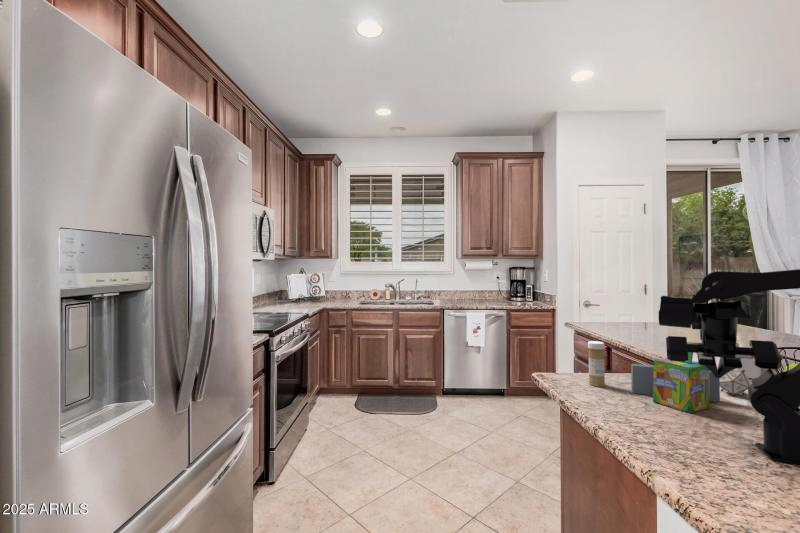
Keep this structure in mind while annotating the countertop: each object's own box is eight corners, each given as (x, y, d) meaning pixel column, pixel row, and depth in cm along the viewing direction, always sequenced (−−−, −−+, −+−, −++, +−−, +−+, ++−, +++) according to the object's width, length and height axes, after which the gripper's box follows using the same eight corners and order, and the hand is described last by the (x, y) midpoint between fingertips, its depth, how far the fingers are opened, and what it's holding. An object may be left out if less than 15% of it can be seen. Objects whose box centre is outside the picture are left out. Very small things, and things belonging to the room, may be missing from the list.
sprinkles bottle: (603, 383, 115) (603, 341, 115) (605, 388, 111) (605, 343, 111) (587, 382, 117) (587, 340, 117) (589, 386, 113) (588, 342, 113)
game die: (742, 409, 103) (768, 387, 97) (710, 396, 105) (734, 375, 99) (730, 385, 110) (754, 364, 104) (700, 374, 112) (723, 353, 106)
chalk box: (652, 402, 99) (651, 347, 99) (672, 397, 103) (671, 344, 103) (691, 414, 90) (690, 355, 91) (711, 408, 94) (710, 351, 94)
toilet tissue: (707, 376, 122) (707, 346, 122) (748, 378, 120) (748, 347, 120) (731, 387, 111) (731, 354, 111) (776, 388, 109) (776, 355, 109)
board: (719, 402, 98) (719, 372, 98) (633, 393, 106) (632, 365, 106) (716, 399, 100) (715, 370, 100) (631, 390, 108) (631, 363, 108)
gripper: (771, 303, 78) (766, 354, 85) (663, 302, 89) (667, 347, 96) (785, 340, 70) (777, 393, 77) (665, 334, 81) (668, 381, 88)
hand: (717, 376), depth 85 cm, fingers closed
